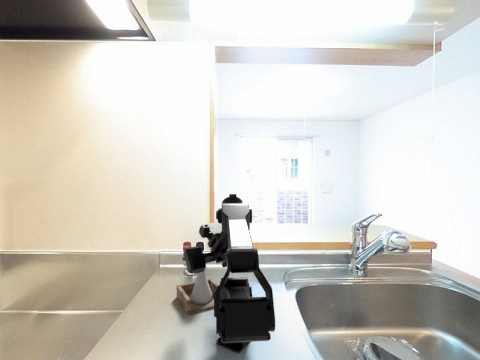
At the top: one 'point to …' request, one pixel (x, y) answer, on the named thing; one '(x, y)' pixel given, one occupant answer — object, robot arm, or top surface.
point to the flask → (201, 290)
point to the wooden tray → (185, 294)
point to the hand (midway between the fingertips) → (209, 269)
